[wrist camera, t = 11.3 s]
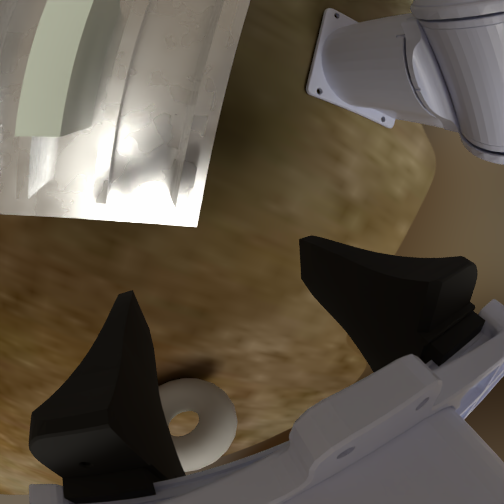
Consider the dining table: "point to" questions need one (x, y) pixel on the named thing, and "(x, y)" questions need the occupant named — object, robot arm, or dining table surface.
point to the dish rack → (124, 115)
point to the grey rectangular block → (65, 67)
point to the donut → (200, 420)
